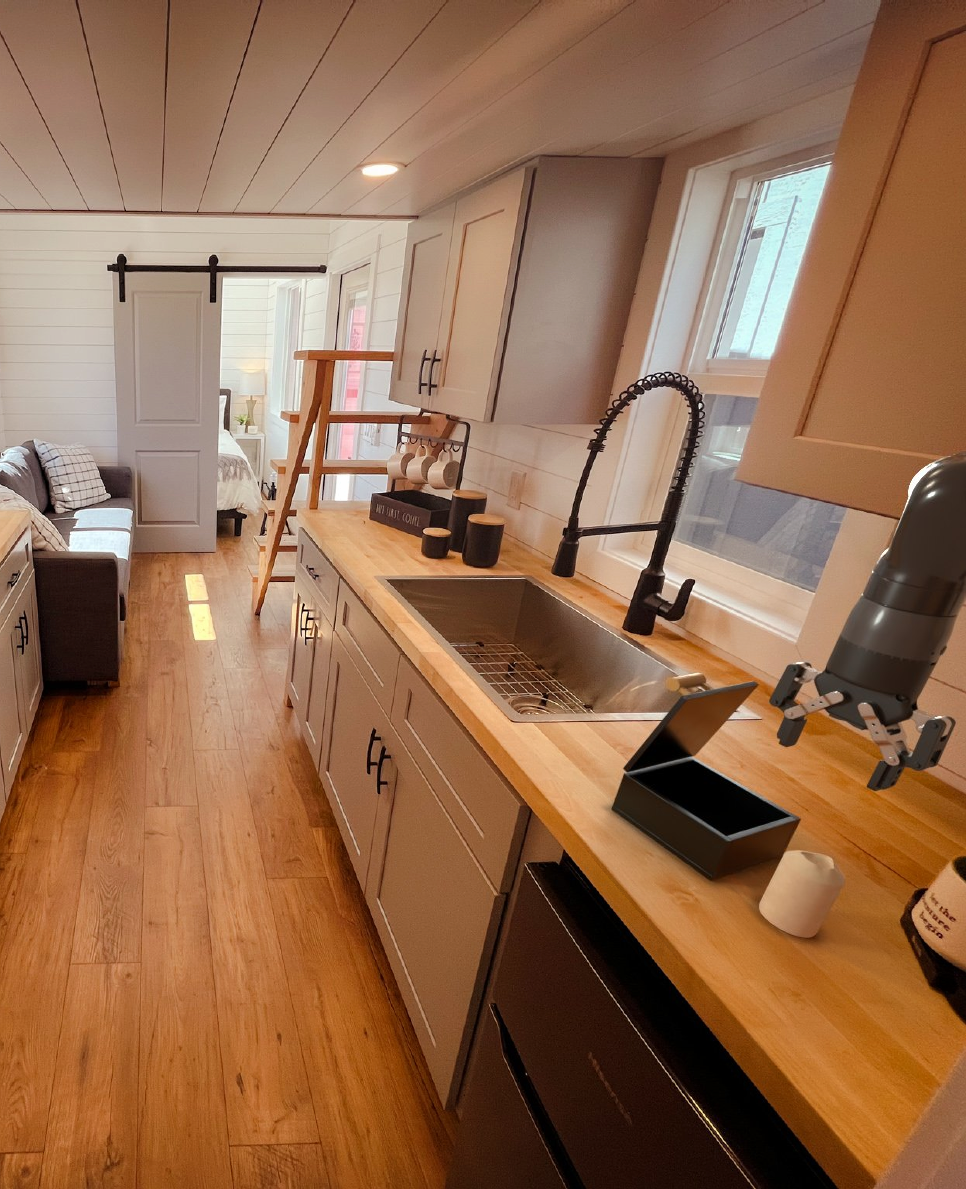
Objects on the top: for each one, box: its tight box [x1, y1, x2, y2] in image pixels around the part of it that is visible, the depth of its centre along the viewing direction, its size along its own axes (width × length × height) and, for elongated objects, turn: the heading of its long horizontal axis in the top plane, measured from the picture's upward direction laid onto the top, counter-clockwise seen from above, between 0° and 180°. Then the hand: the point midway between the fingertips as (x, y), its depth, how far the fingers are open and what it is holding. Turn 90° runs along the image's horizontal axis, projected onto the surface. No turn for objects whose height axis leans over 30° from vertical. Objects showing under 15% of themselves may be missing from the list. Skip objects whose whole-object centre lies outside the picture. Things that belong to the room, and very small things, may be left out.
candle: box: [758, 849, 847, 939], centre depth 78 cm, size 6×6×10 cm
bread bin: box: [610, 756, 802, 882], centre depth 93 cm, size 15×15×7 cm
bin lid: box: [622, 672, 760, 773], centre depth 95 cm, size 16×15×5 cm
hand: (828, 765), depth 75 cm, fingers open, 8 cm apart
